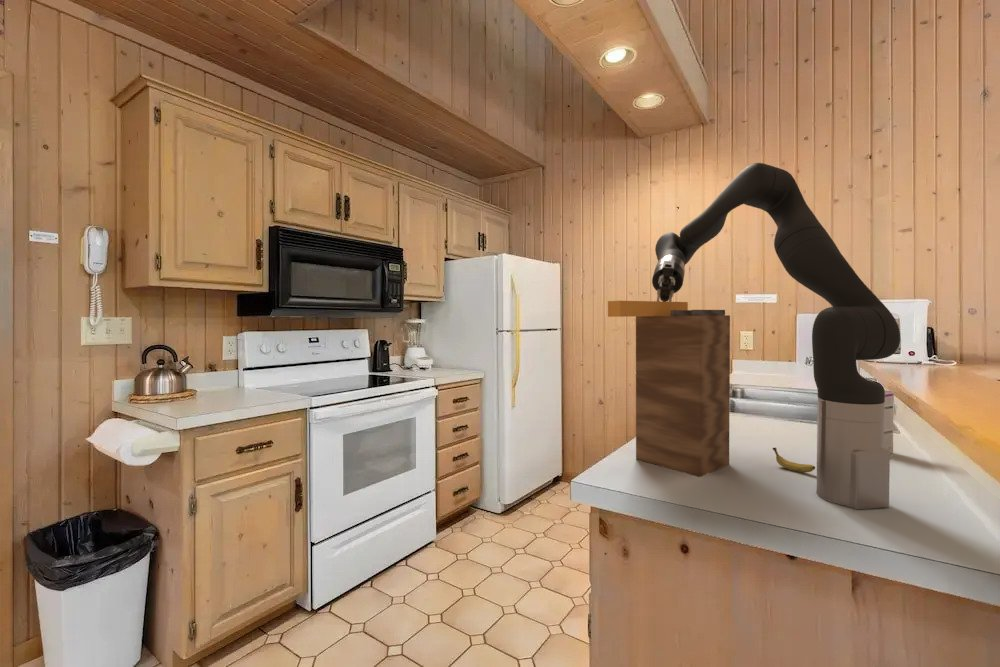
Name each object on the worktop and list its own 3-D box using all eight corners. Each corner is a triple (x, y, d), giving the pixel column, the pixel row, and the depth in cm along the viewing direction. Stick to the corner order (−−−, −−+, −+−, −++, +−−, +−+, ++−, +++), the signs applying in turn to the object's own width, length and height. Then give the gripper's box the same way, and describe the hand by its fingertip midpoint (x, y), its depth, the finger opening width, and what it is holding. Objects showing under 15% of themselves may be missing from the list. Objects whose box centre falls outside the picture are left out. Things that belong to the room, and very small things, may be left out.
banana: (770, 466, 99) (770, 447, 99) (774, 464, 100) (774, 446, 99) (812, 477, 92) (813, 457, 92) (817, 475, 93) (817, 455, 93)
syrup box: (894, 453, 107) (895, 390, 106) (878, 456, 105) (879, 392, 104) (867, 446, 112) (867, 386, 112) (851, 449, 110) (851, 388, 110)
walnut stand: (666, 449, 112) (666, 311, 110) (729, 464, 100) (729, 309, 99) (636, 459, 104) (635, 311, 103) (699, 476, 92) (700, 309, 91)
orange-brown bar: (675, 316, 110) (675, 302, 110) (687, 315, 108) (687, 302, 108) (607, 316, 96) (607, 301, 96) (620, 316, 93) (620, 300, 93)
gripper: (687, 250, 116) (683, 278, 104) (680, 299, 124) (675, 331, 112) (656, 247, 119) (648, 275, 107) (651, 296, 127) (643, 327, 114)
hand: (662, 304), depth 109 cm, fingers open, 8 cm apart
